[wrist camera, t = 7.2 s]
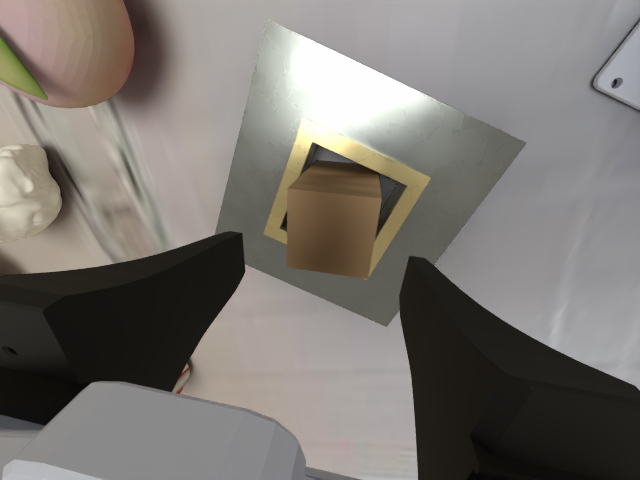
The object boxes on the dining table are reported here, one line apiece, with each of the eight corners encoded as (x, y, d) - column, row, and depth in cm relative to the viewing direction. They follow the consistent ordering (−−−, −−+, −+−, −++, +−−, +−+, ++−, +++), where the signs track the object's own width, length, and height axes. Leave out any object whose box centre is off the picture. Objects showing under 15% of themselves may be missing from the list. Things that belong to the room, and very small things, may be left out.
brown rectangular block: (377, 165, 19) (381, 198, 12) (368, 222, 21) (368, 279, 14) (316, 160, 20) (287, 188, 13) (313, 216, 22) (286, 267, 15)
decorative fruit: (200, 45, 18) (34, -18, 9) (139, 127, 21) (-28, 140, 12) (82, -106, 15) (-302, -392, 7) (33, 12, 19) (-269, -73, 10)
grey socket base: (506, 138, 17) (532, 144, 15) (385, 307, 25) (386, 332, 22) (280, 30, 17) (262, 15, 14) (225, 236, 24) (207, 252, 21)
